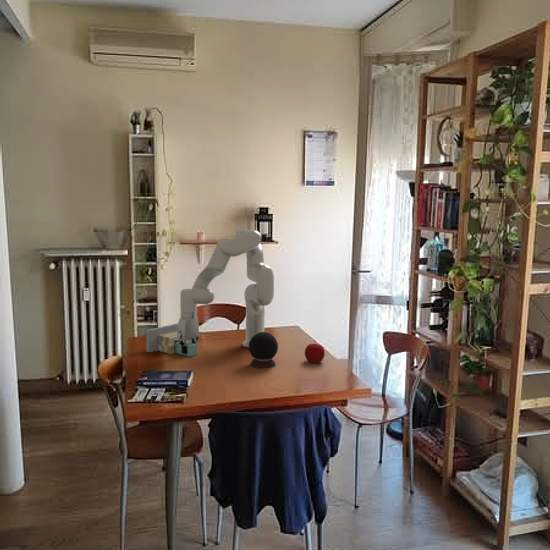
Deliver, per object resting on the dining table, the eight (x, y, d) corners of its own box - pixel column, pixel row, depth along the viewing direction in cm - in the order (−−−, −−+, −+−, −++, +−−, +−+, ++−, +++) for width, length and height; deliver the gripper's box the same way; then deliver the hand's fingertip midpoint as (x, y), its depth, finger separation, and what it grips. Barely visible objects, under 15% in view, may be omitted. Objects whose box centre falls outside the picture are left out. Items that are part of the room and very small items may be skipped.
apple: (301, 363, 244) (301, 341, 243) (309, 358, 252) (309, 337, 250) (319, 366, 240) (320, 344, 238) (327, 361, 248) (327, 340, 246)
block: (188, 349, 262) (187, 333, 261) (170, 354, 253) (170, 338, 252) (175, 346, 267) (175, 330, 266) (158, 350, 259) (158, 334, 258)
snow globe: (258, 358, 249) (259, 327, 247) (282, 363, 243) (283, 331, 241) (242, 365, 238) (243, 333, 236) (267, 371, 231) (268, 337, 229)
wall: (183, 344, 272) (183, 323, 270) (148, 353, 255) (148, 330, 253) (181, 343, 273) (181, 322, 271) (146, 352, 256) (146, 330, 254)
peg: (196, 354, 254) (196, 344, 253) (189, 356, 250) (189, 346, 249) (177, 348, 262) (177, 339, 262) (169, 351, 258) (169, 341, 258)
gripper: (196, 311, 260) (196, 347, 262) (169, 316, 247) (169, 354, 249) (207, 313, 255) (207, 350, 258) (180, 319, 242) (180, 357, 244)
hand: (188, 352), depth 253 cm, fingers closed on peg, 5 cm apart
